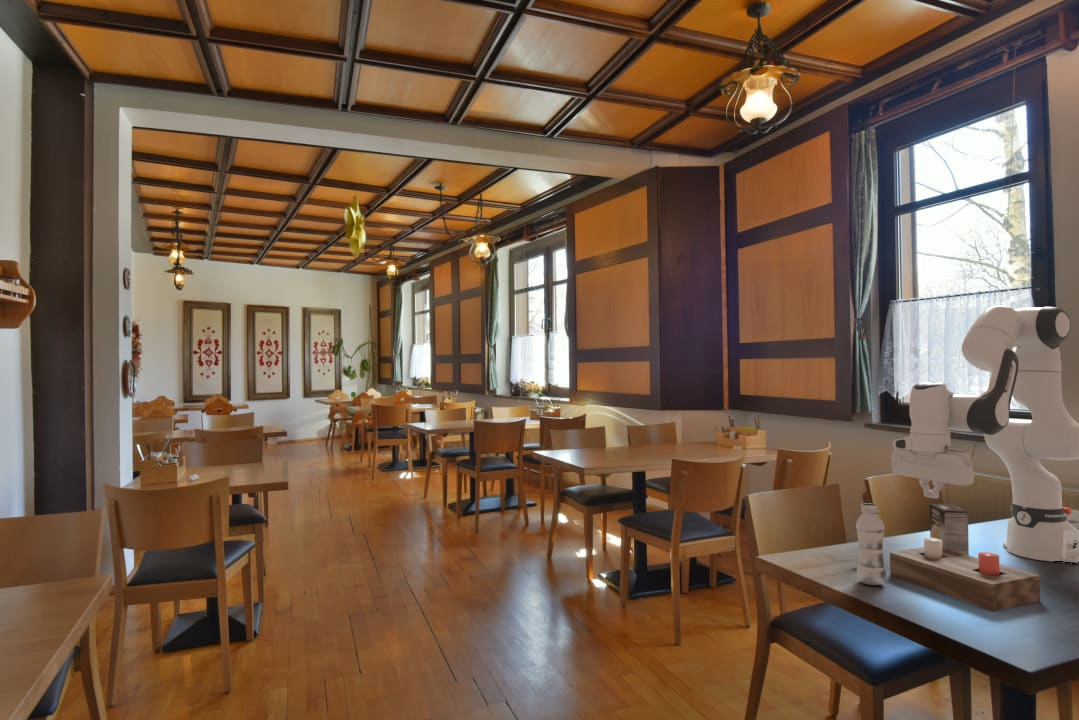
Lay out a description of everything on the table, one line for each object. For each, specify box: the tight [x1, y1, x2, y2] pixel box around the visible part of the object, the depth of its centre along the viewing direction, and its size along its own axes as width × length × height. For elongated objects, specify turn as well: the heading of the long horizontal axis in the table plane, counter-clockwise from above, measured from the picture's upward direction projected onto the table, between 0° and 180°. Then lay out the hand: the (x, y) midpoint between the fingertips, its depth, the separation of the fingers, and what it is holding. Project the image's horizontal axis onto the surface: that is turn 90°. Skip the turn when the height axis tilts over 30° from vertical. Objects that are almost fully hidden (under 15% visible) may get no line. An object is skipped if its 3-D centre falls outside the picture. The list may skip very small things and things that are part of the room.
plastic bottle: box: [855, 502, 887, 586], centre depth 153 cm, size 6×7×20 cm
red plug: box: [977, 551, 1001, 576], centre depth 143 cm, size 4×4×6 cm
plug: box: [923, 537, 942, 559], centre depth 157 cm, size 4×4×6 cm
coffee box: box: [929, 503, 970, 556], centre depth 167 cm, size 9×6×16 cm
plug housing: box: [889, 546, 1041, 612], centre depth 150 cm, size 16×26×6 cm, turn 20°
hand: (931, 497), depth 157 cm, fingers closed
